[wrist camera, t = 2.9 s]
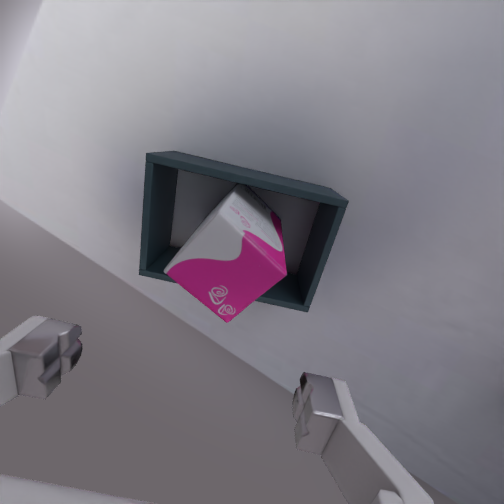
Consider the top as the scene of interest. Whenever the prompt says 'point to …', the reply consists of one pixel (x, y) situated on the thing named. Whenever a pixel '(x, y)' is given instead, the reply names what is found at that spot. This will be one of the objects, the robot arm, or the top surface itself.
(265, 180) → the case
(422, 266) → the top surface
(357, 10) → the top surface
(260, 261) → the supplement box
